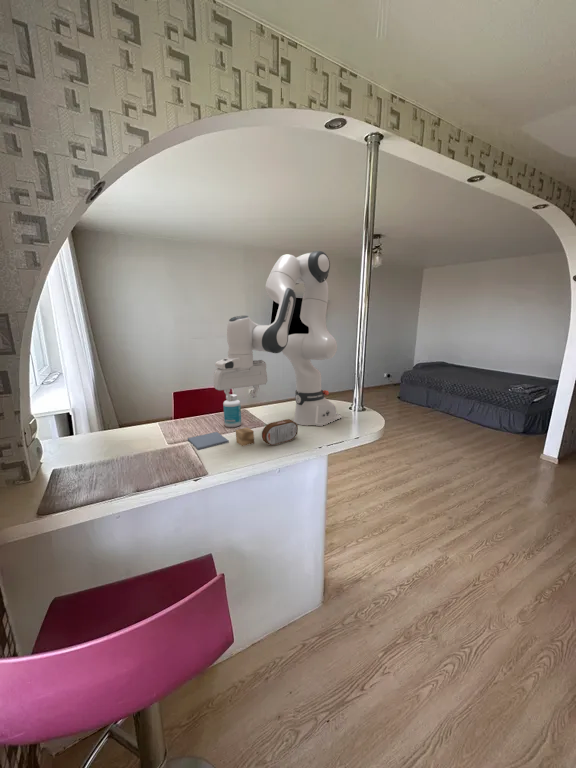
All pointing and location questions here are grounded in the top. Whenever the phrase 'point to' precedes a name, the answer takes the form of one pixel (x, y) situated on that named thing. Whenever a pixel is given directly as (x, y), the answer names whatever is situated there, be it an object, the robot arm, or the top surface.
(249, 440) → the cube
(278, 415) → the top surface
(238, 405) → the pill bottle
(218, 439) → the mat
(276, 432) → the tin
